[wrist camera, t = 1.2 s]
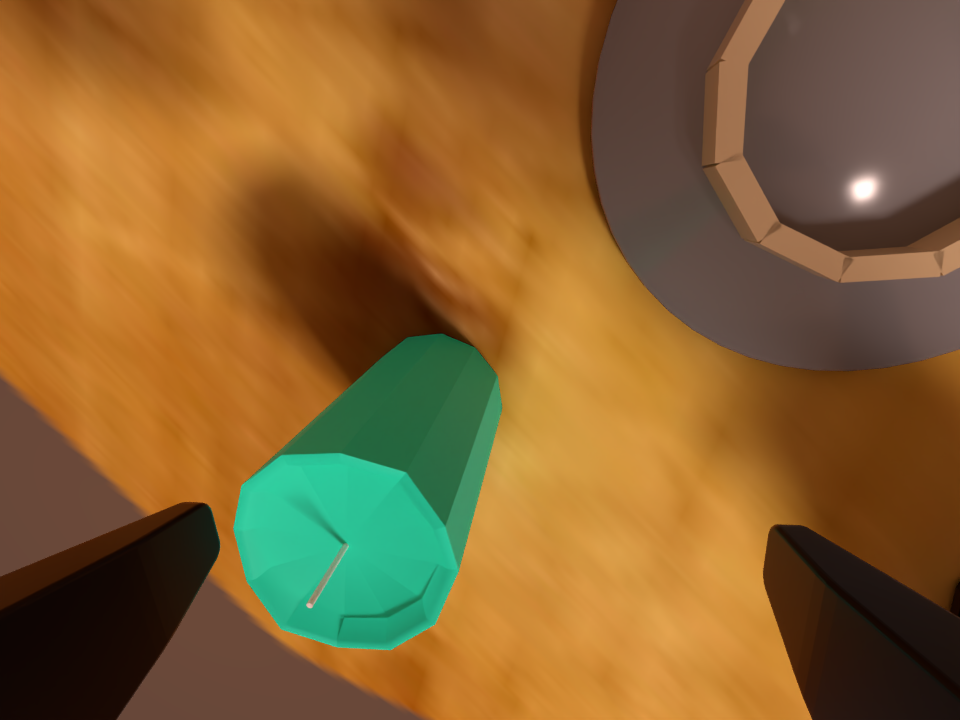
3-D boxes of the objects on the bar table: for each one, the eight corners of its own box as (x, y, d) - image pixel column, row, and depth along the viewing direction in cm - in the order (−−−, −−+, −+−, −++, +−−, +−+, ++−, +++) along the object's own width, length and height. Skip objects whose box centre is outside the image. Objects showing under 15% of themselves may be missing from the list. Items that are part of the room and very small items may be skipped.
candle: (451, 480, 23) (352, 743, 12) (348, 404, 23) (146, 606, 12) (530, 389, 21) (498, 604, 10) (418, 304, 21) (255, 431, 10)
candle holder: (1114, 352, 18) (1199, 376, 15) (595, 371, 21) (600, 393, 18) (1331, -347, 12) (1514, -476, 10) (583, -180, 15) (588, -249, 13)
